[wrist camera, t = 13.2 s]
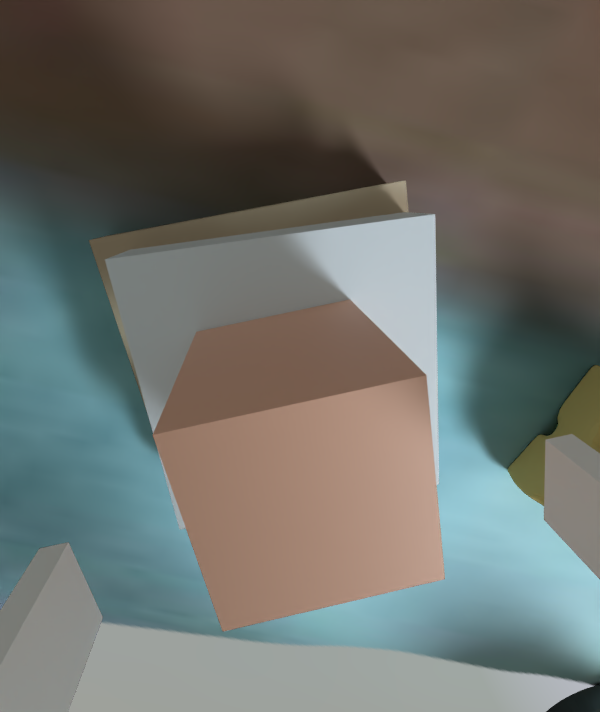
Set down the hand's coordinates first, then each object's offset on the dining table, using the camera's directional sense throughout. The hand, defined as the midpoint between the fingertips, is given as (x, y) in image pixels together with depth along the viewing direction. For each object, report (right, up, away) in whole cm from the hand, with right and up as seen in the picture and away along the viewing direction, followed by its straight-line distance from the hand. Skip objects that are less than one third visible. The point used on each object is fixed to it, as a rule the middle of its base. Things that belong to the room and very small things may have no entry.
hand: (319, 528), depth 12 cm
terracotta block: (-1, +3, +9) cm, 9 cm away
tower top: (-1, +5, +12) cm, 13 cm away
